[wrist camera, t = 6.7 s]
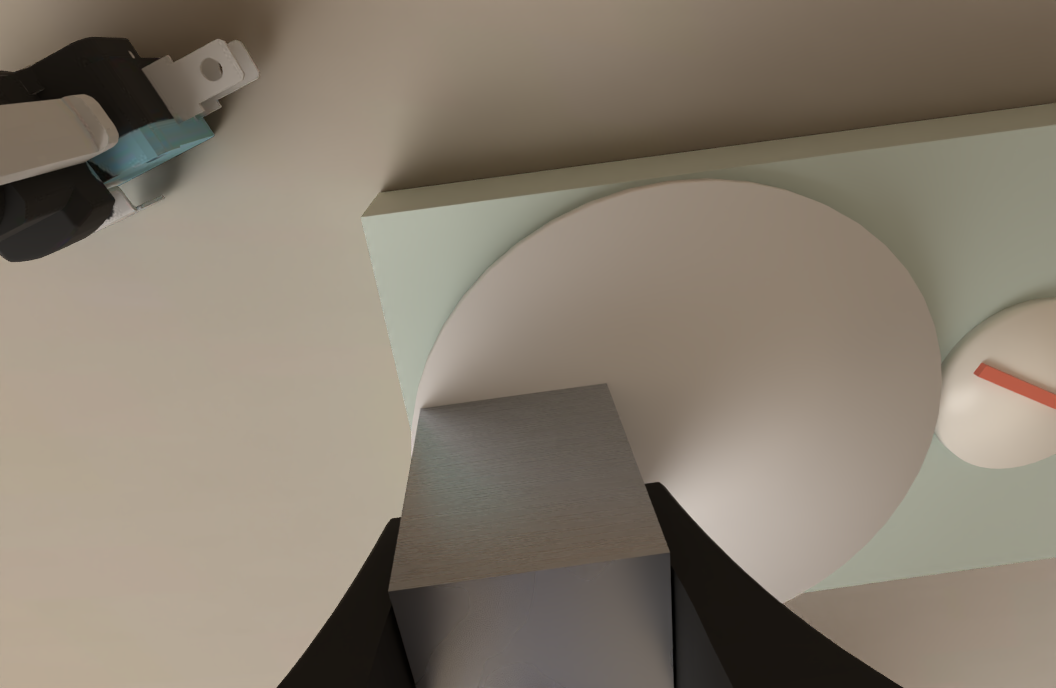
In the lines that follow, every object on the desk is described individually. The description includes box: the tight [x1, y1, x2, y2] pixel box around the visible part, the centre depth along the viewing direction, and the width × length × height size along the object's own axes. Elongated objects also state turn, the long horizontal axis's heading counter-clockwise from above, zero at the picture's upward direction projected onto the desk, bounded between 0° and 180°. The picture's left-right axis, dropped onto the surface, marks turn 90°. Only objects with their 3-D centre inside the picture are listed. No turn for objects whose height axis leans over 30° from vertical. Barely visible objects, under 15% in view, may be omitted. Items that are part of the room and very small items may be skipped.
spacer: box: [388, 383, 674, 688], centre depth 12 cm, size 4×4×5 cm
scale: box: [361, 103, 1056, 604], centre depth 16 cm, size 12×17×3 cm
